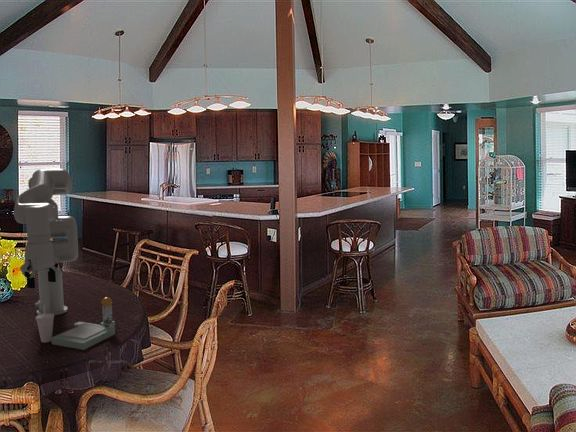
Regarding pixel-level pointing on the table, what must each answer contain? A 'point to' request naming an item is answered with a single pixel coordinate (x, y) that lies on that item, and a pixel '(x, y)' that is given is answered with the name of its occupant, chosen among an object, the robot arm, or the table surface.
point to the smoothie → (45, 326)
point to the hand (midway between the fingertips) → (41, 284)
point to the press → (83, 335)
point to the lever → (107, 312)
